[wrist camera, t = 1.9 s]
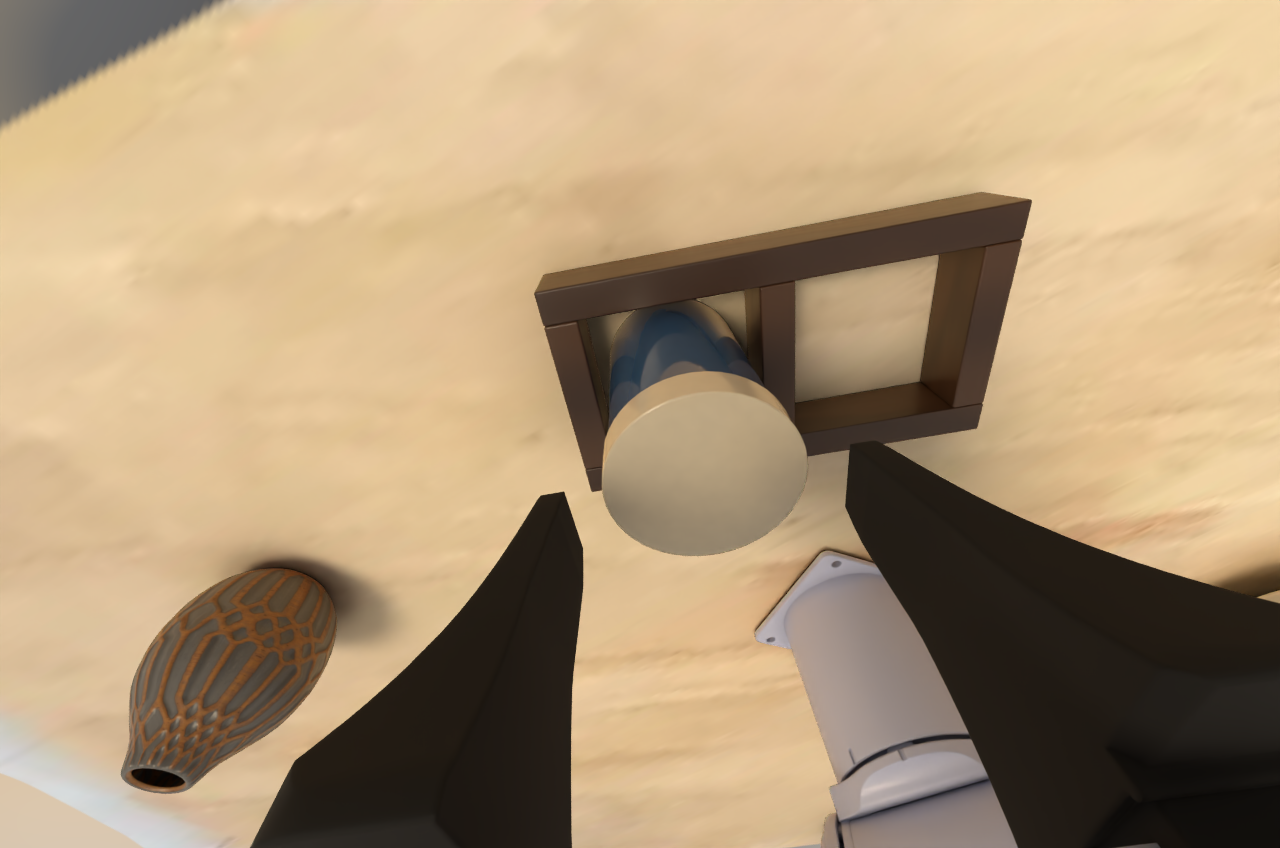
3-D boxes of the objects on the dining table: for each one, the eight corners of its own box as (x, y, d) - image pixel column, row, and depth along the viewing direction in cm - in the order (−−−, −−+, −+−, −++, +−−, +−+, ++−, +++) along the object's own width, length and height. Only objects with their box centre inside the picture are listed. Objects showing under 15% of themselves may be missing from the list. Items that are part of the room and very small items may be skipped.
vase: (195, 594, 25) (20, 786, 18) (253, 526, 23) (80, 713, 16) (319, 647, 28) (212, 831, 21) (381, 590, 26) (287, 775, 18)
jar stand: (942, 400, 21) (977, 429, 19) (593, 459, 22) (591, 492, 20) (982, 191, 17) (1033, 199, 15) (542, 274, 18) (533, 292, 15)
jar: (763, 322, 19) (850, 432, 12) (702, 431, 21) (745, 574, 14) (635, 271, 18) (650, 360, 11) (587, 393, 20) (573, 529, 13)
